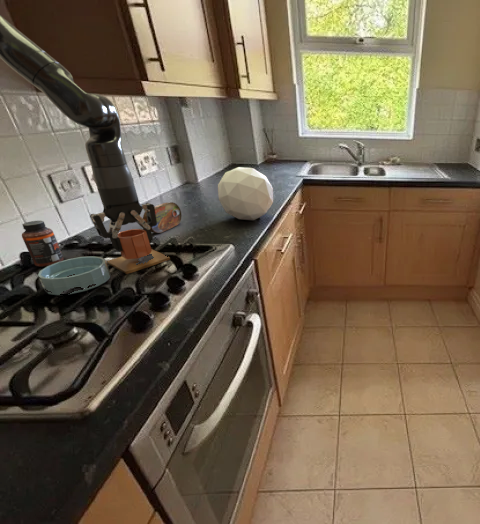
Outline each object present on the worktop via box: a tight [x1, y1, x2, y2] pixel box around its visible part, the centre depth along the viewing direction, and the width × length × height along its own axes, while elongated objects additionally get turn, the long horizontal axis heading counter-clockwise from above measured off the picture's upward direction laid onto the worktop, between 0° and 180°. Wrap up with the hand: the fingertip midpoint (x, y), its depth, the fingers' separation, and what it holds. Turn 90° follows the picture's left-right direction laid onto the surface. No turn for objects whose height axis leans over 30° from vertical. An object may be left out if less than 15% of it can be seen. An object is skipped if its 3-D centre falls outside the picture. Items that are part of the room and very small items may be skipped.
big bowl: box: [37, 255, 111, 296], centre depth 78 cm, size 12×12×4 cm
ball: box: [217, 166, 274, 221], centre depth 123 cm, size 19×20×20 cm
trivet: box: [106, 248, 171, 275], centre depth 90 cm, size 11×11×1 cm
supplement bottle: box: [21, 220, 65, 268], centre depth 86 cm, size 6×6×11 cm
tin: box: [142, 201, 182, 234], centre depth 113 cm, size 15×3×8 cm, turn 171°
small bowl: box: [118, 228, 152, 259], centre depth 88 cm, size 6×6×6 cm
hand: (134, 246), depth 88 cm, fingers closed on small bowl, 6 cm apart
